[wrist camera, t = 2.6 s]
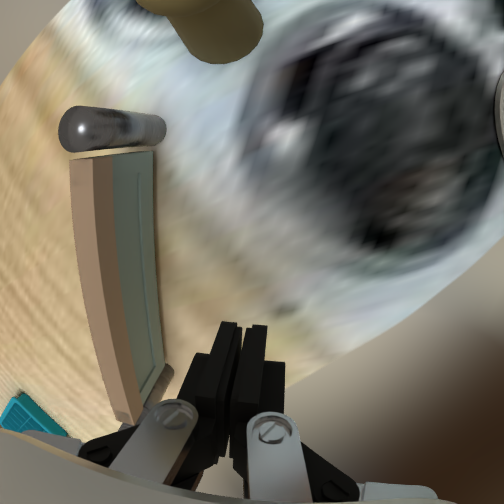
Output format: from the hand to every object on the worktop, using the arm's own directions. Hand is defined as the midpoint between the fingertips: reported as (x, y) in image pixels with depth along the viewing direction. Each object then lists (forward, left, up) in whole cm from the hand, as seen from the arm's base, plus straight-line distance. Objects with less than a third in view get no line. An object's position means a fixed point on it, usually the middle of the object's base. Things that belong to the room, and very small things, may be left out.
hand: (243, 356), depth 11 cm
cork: (+4, -16, -13) cm, 22 cm away
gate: (+9, +3, -12) cm, 16 cm away
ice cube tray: (+40, +38, -14) cm, 56 cm away
